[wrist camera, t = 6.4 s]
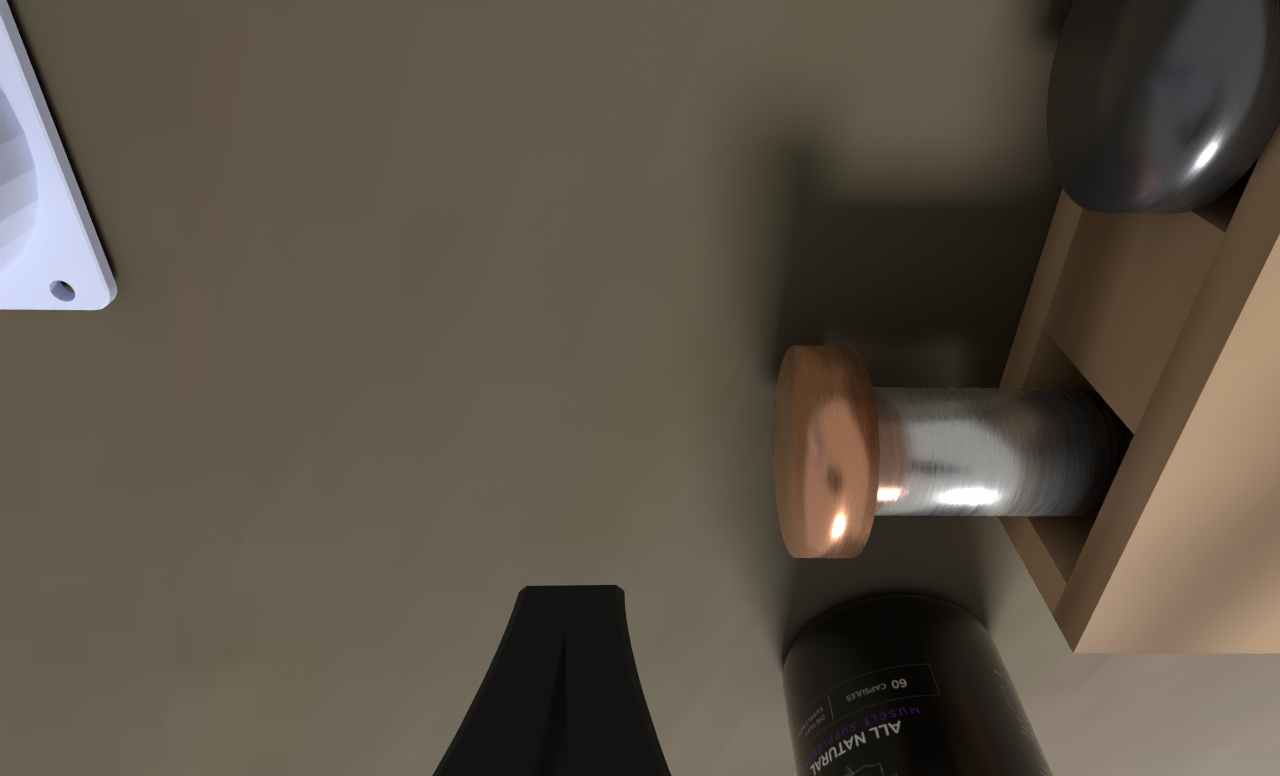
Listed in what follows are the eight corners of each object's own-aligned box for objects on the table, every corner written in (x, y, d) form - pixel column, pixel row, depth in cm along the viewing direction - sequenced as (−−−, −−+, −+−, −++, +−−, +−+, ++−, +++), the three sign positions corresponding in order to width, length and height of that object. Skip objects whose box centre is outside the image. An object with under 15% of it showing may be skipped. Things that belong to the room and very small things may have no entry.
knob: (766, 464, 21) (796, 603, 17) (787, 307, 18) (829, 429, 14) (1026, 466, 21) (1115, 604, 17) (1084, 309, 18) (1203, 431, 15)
